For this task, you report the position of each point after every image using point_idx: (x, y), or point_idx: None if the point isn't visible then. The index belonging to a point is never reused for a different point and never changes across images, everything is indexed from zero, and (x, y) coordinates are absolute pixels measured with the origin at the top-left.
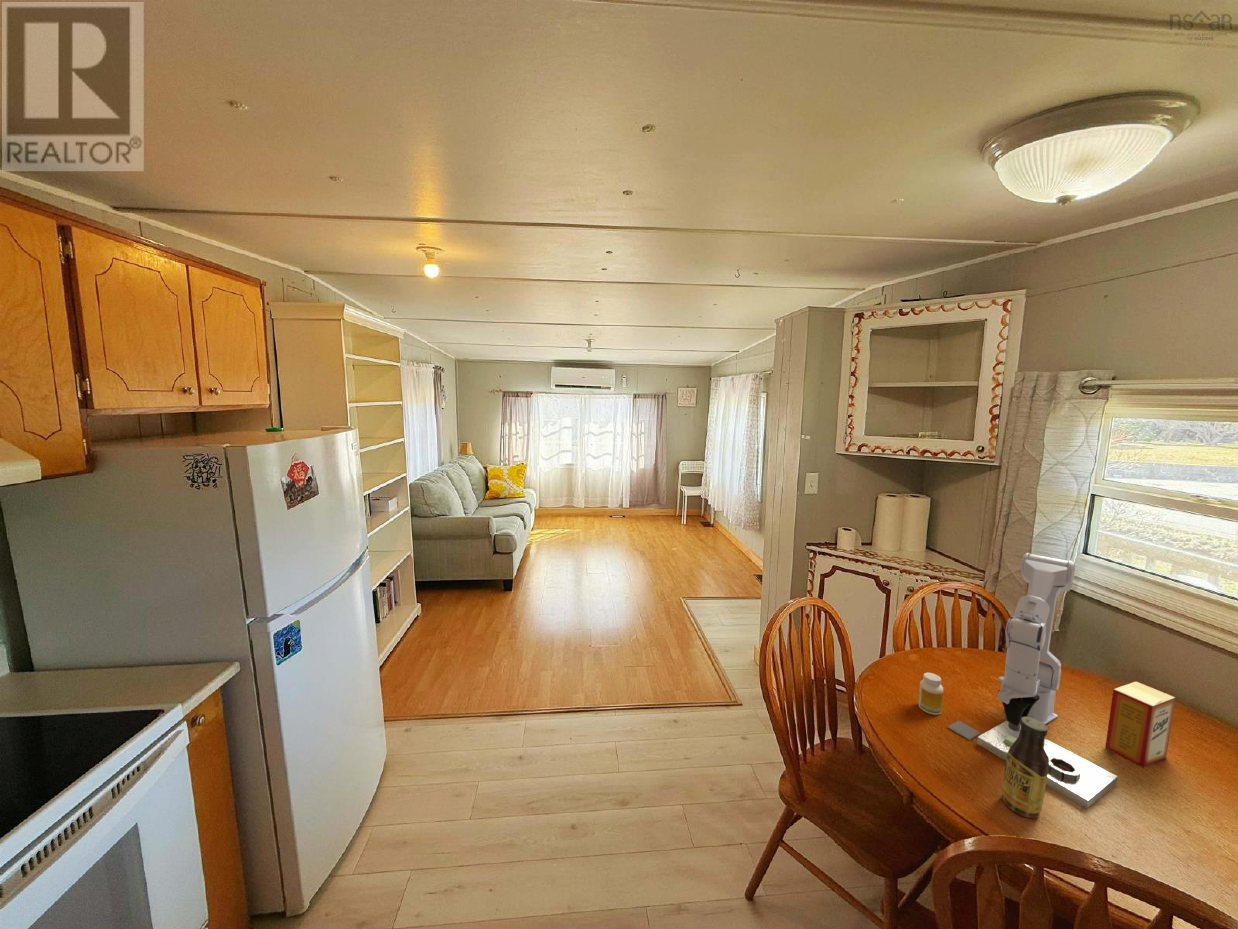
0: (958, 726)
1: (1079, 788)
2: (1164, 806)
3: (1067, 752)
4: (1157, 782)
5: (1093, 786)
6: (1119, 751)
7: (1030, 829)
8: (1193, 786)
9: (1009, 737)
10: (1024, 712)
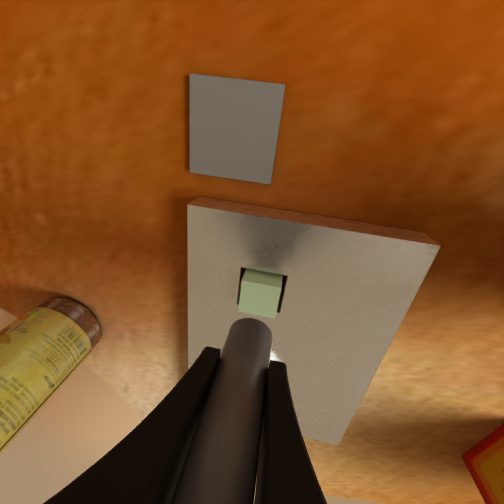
0: (234, 106)
1: None
2: (331, 459)
3: (356, 386)
4: (416, 464)
5: None
6: (499, 447)
7: None
8: (456, 495)
9: (262, 289)
10: (259, 456)
